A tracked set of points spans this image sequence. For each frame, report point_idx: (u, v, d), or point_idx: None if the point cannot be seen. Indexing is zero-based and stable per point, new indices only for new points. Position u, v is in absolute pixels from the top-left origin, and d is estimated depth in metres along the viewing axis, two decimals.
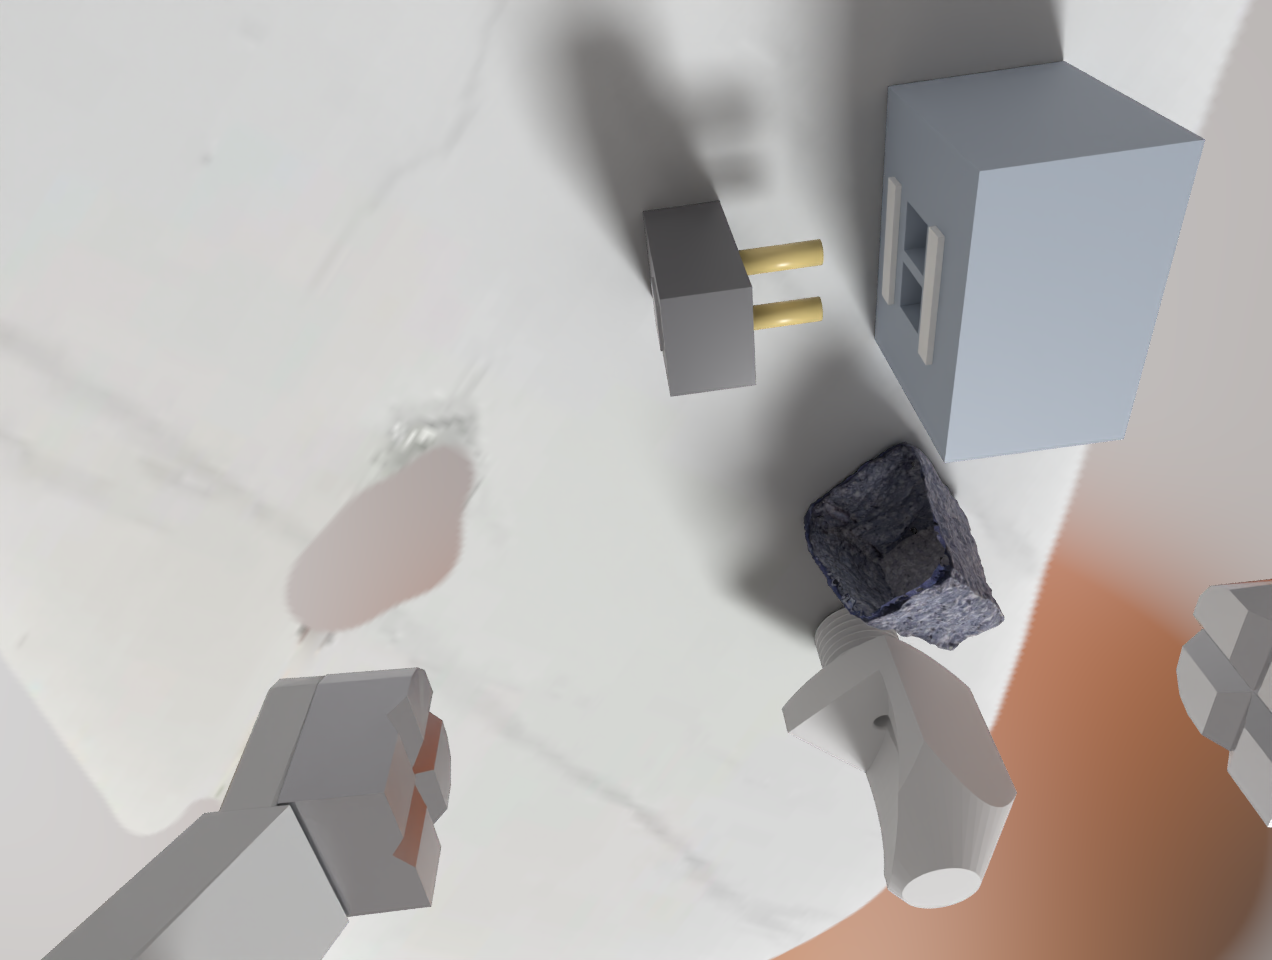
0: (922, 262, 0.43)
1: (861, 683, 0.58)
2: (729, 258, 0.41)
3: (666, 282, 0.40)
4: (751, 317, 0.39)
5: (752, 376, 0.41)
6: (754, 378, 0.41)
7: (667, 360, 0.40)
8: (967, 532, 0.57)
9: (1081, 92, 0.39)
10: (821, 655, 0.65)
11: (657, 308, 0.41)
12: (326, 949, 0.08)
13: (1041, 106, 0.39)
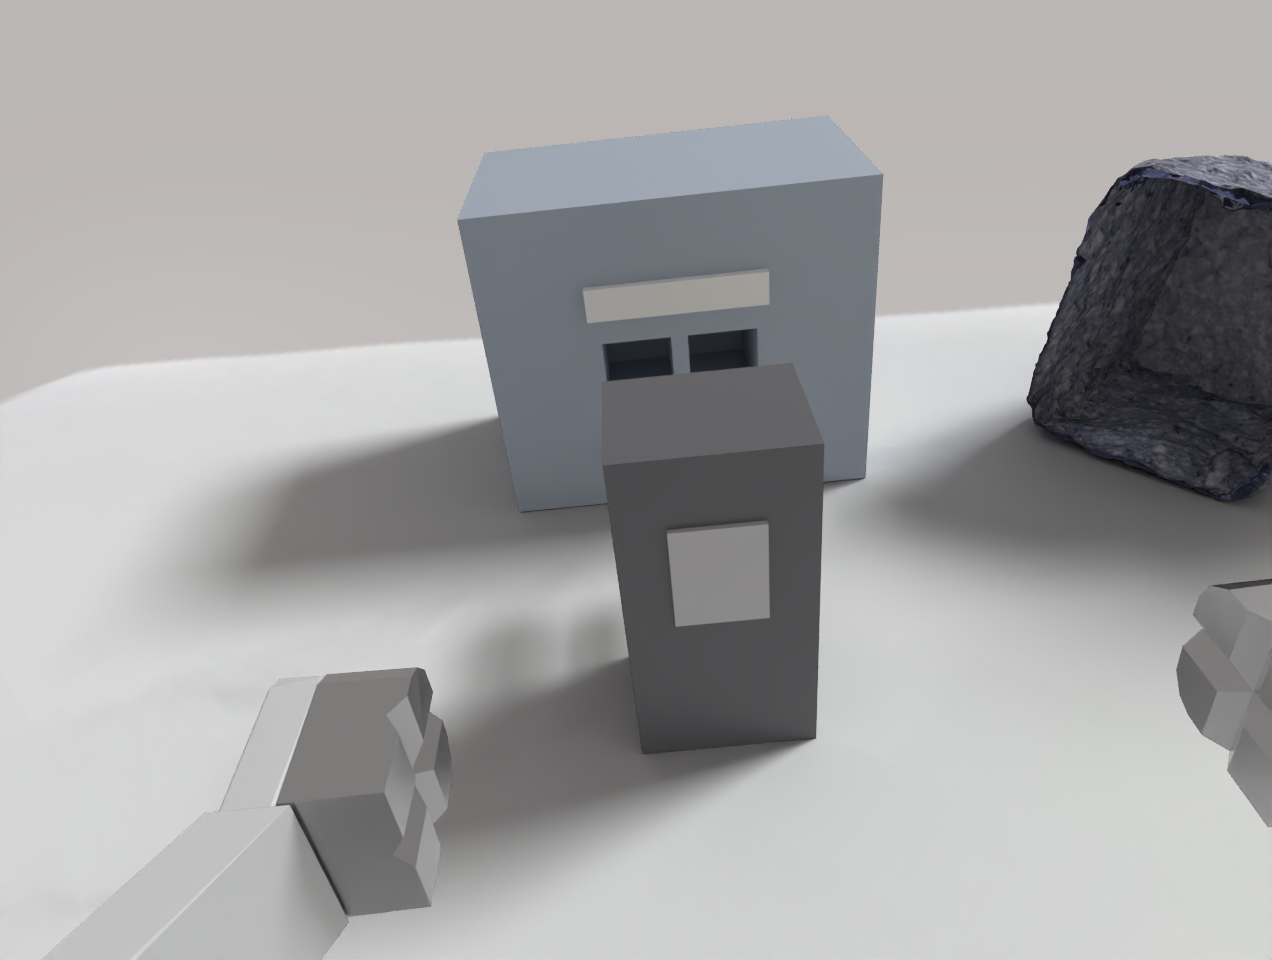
0: (672, 366, 0.33)
1: None
2: None
3: None
4: (657, 377, 0.23)
5: (774, 367, 0.23)
6: (778, 365, 0.23)
7: (737, 451, 0.20)
8: (1140, 305, 0.38)
9: None
10: None
11: (672, 531, 0.21)
12: (326, 949, 0.08)
13: None
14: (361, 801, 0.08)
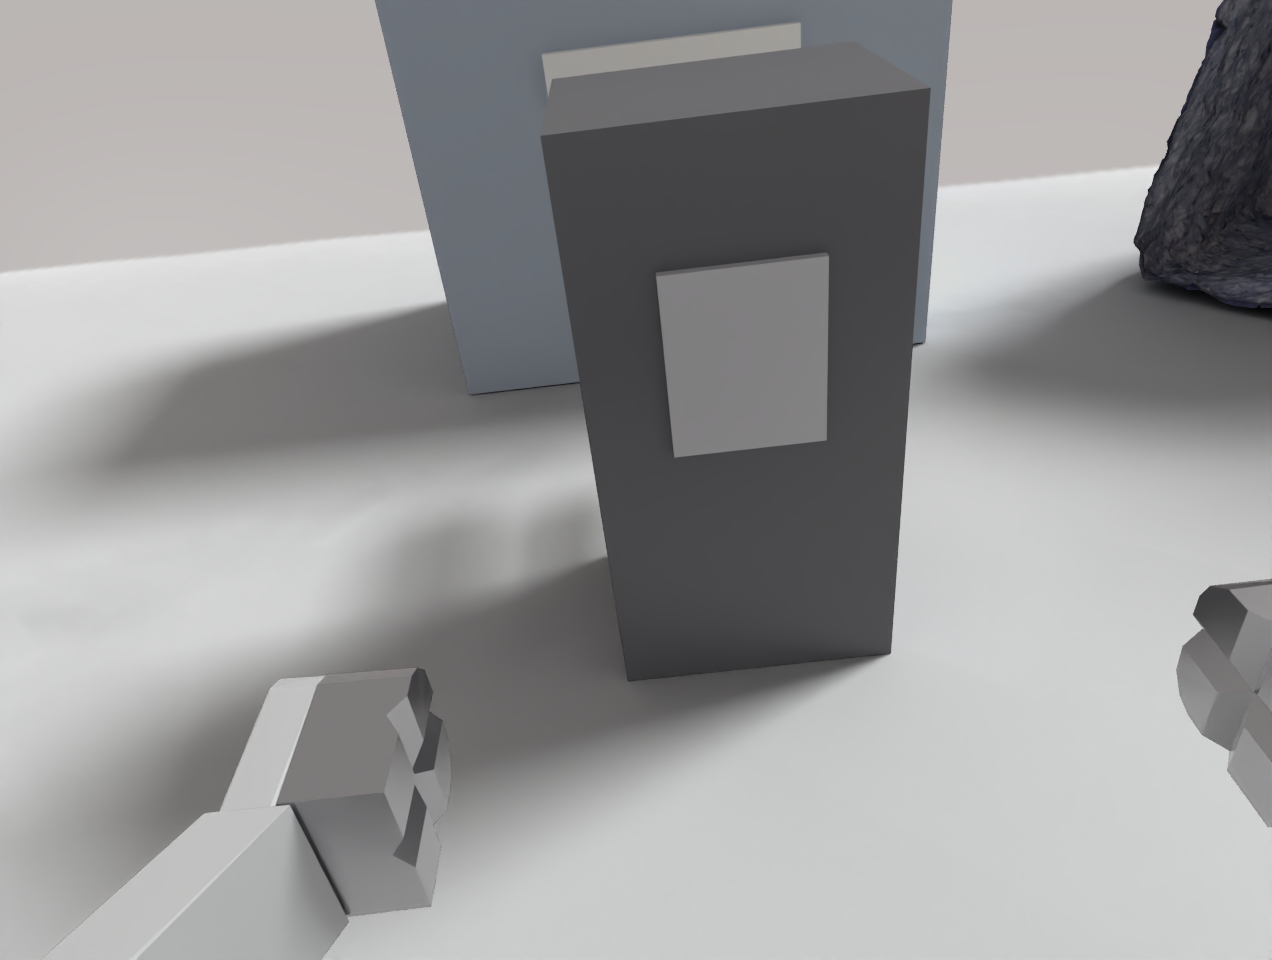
0: None
1: None
2: None
3: None
4: (640, 68, 0.15)
5: (827, 47, 0.15)
6: (833, 44, 0.15)
7: (778, 107, 0.11)
8: None
9: None
10: None
11: (666, 273, 0.12)
12: (326, 949, 0.08)
13: None
14: (361, 801, 0.08)
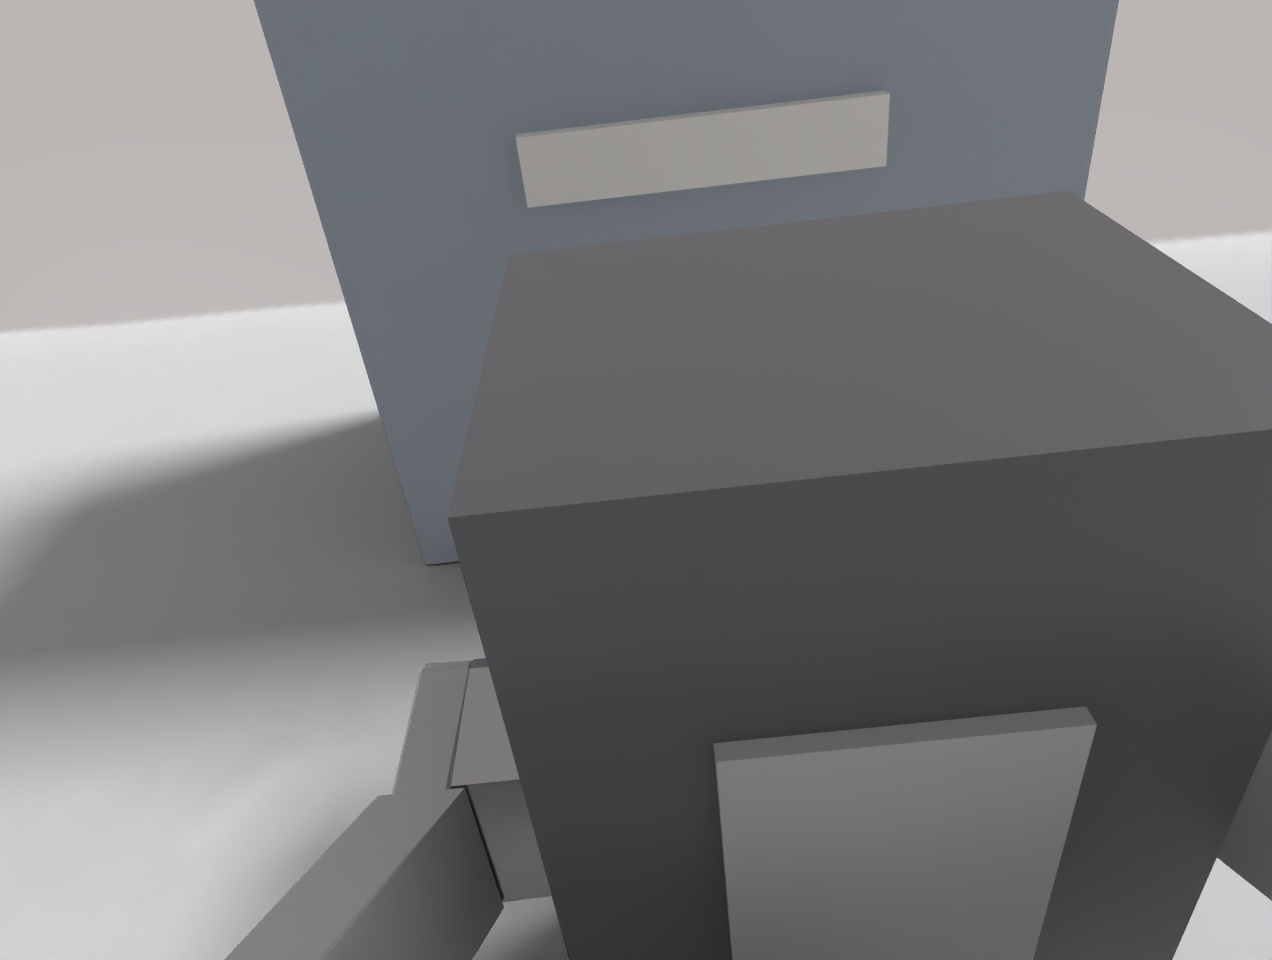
0: None
1: None
2: None
3: None
4: (671, 238, 0.08)
5: (1020, 203, 0.08)
6: (1030, 197, 0.08)
7: (1027, 454, 0.05)
8: None
9: None
10: None
11: (737, 750, 0.06)
12: (484, 934, 0.08)
13: None
14: None
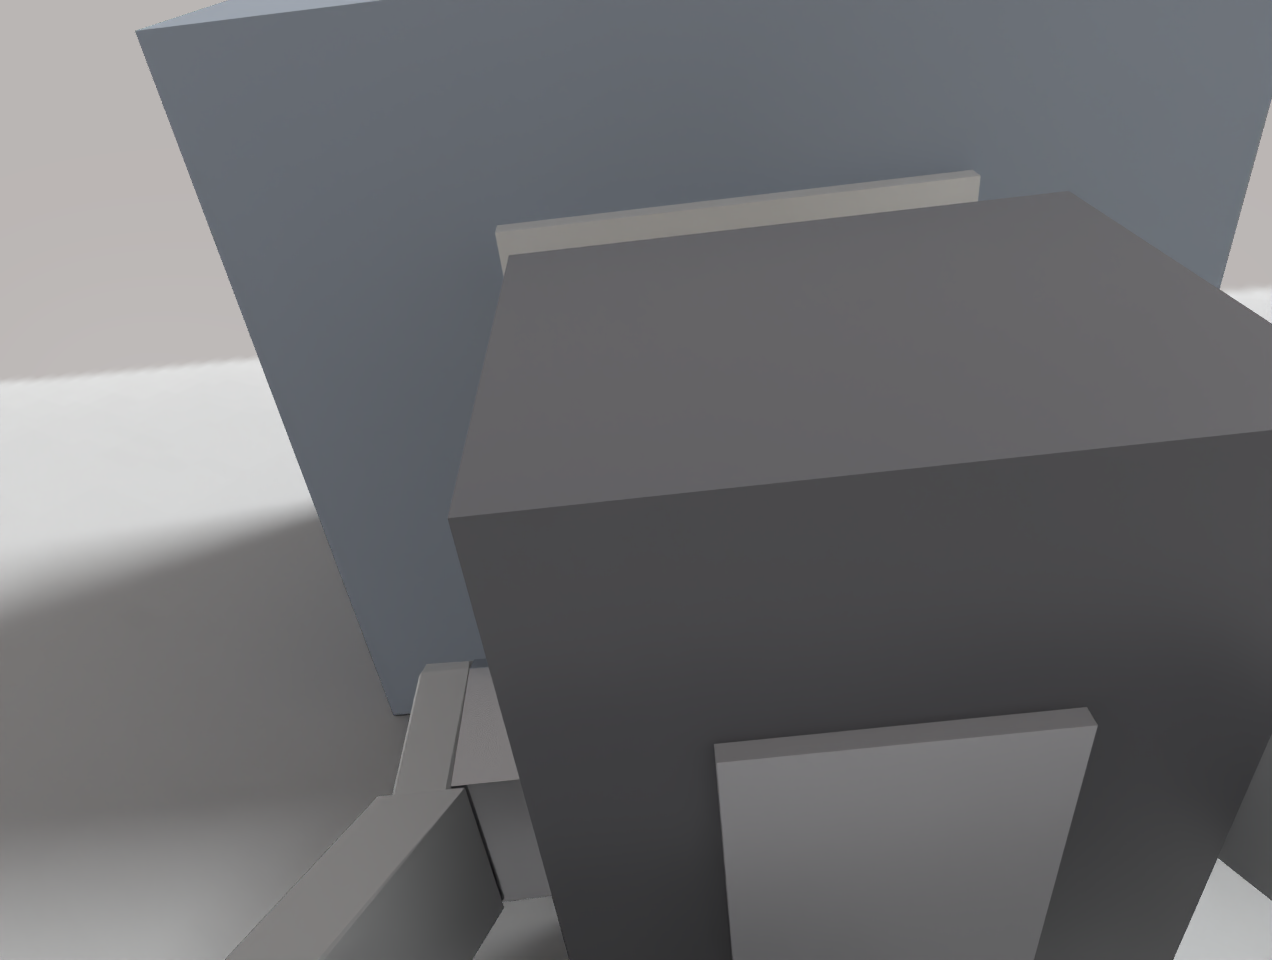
0: None
1: None
2: None
3: None
4: (672, 238, 0.08)
5: (1021, 203, 0.08)
6: (1030, 197, 0.08)
7: (1028, 454, 0.05)
8: None
9: None
10: None
11: (738, 750, 0.06)
12: (485, 934, 0.08)
13: None
14: None
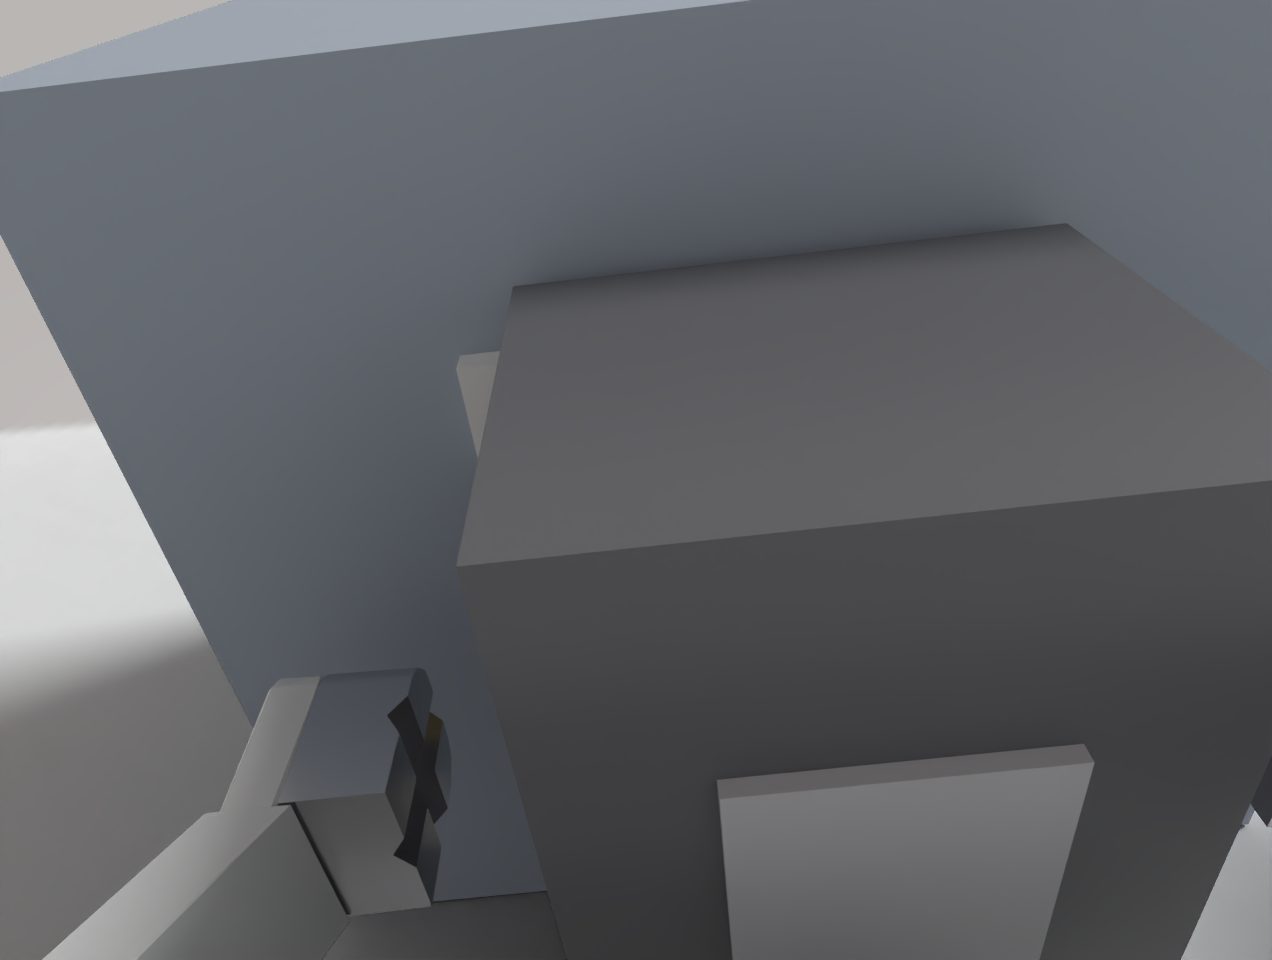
0: None
1: None
2: None
3: None
4: (674, 270, 0.08)
5: (1019, 235, 0.08)
6: (1029, 230, 0.08)
7: (1025, 504, 0.05)
8: None
9: None
10: None
11: (740, 786, 0.06)
12: (327, 949, 0.08)
13: None
14: (362, 802, 0.08)
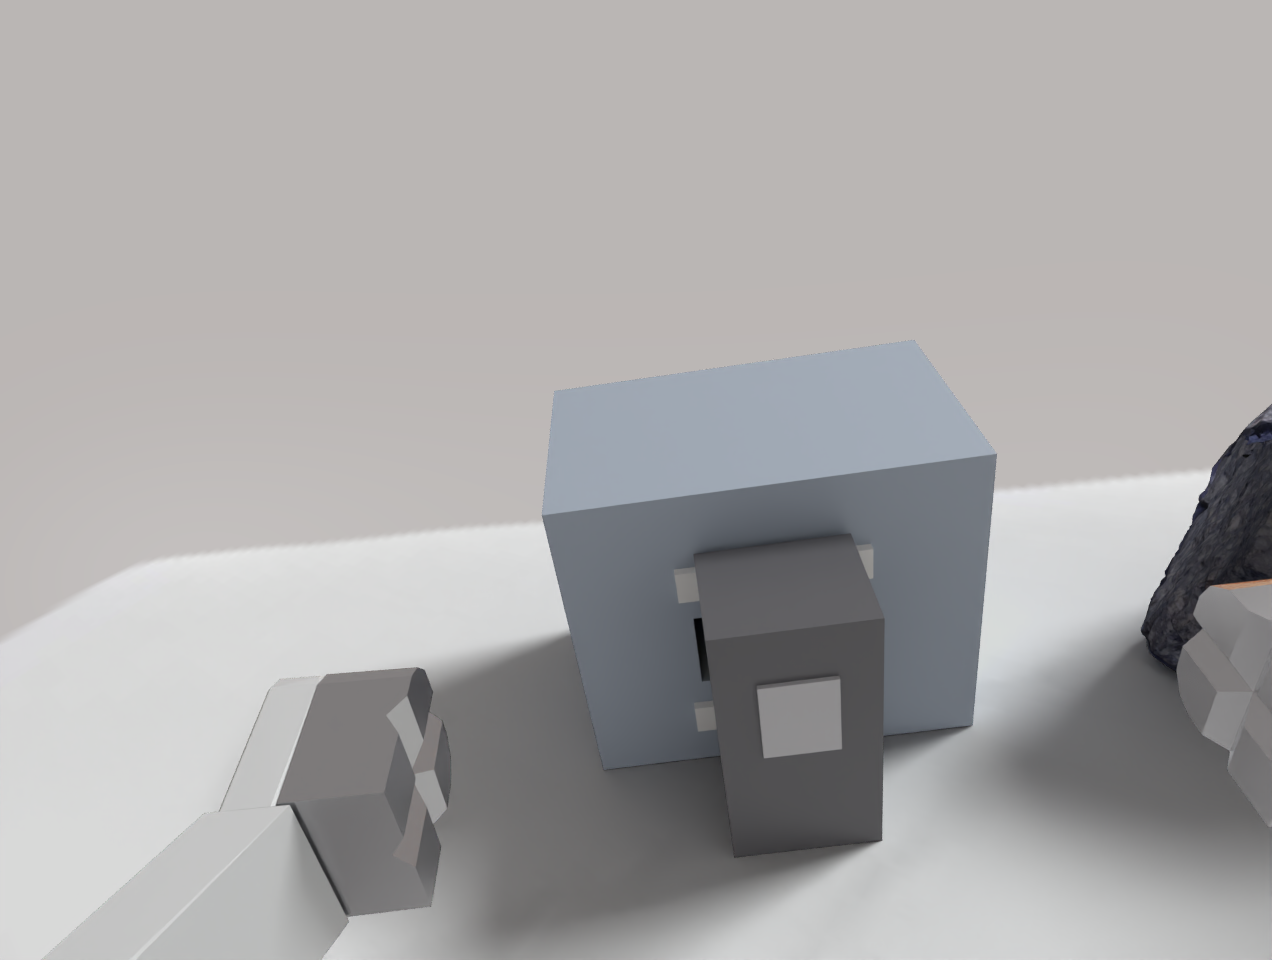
0: None
1: None
2: (704, 636, 0.30)
3: None
4: (739, 549, 0.28)
5: (836, 538, 0.28)
6: (839, 536, 0.28)
7: (814, 626, 0.25)
8: (1256, 516, 0.36)
9: None
10: None
11: (762, 687, 0.26)
12: (326, 949, 0.08)
13: None
14: (361, 801, 0.08)
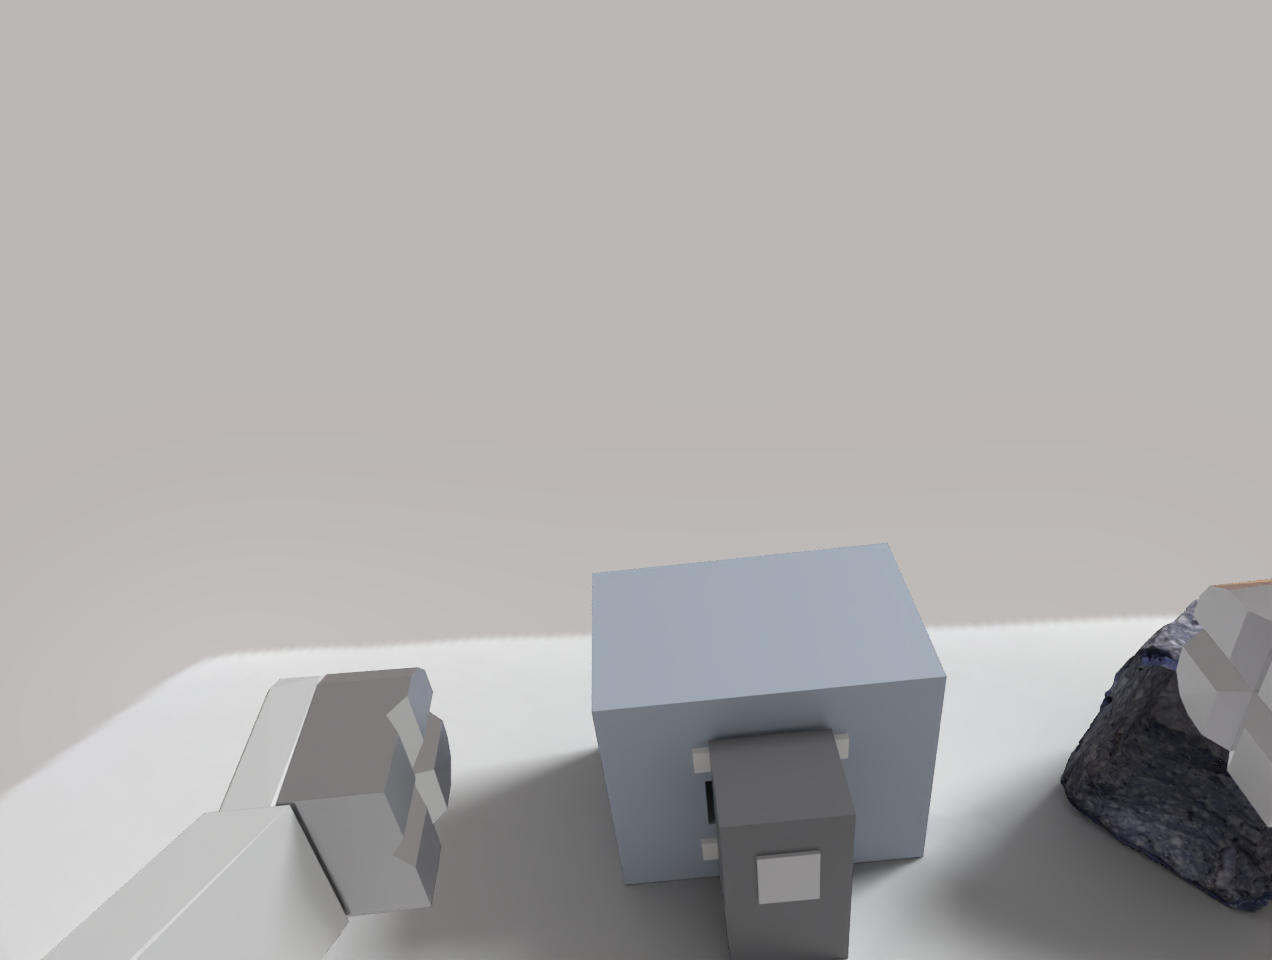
0: None
1: None
2: (713, 798, 0.37)
3: (720, 841, 0.34)
4: (744, 738, 0.36)
5: (820, 732, 0.36)
6: (823, 730, 0.36)
7: (802, 818, 0.33)
8: (1157, 686, 0.44)
9: None
10: None
11: (760, 857, 0.34)
12: (326, 949, 0.08)
13: None
14: (361, 801, 0.08)
